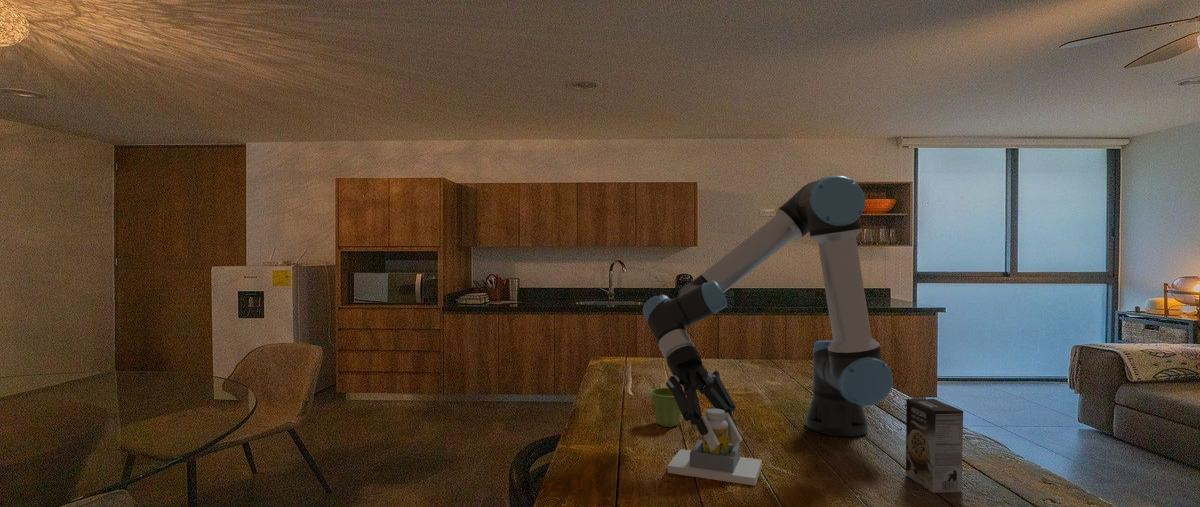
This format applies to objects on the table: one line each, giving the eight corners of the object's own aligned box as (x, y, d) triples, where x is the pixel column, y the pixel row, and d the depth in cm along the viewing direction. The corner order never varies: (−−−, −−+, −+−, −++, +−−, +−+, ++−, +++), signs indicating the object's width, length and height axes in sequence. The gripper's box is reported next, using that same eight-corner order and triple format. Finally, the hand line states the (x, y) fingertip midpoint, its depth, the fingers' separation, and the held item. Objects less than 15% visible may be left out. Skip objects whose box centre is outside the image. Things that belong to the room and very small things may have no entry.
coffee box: (904, 475, 123) (904, 398, 123) (933, 474, 124) (934, 397, 124) (932, 493, 114) (932, 410, 114) (963, 492, 115) (964, 409, 115)
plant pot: (684, 419, 163) (684, 388, 163) (686, 429, 154) (686, 396, 154) (650, 418, 164) (650, 387, 164) (650, 428, 155) (650, 395, 155)
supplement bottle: (729, 452, 128) (729, 408, 128) (727, 461, 123) (727, 415, 123) (704, 450, 130) (704, 406, 129) (701, 458, 124) (701, 413, 124)
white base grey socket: (761, 466, 128) (761, 445, 128) (755, 485, 118) (755, 463, 118) (680, 455, 135) (680, 435, 135) (667, 472, 124) (667, 451, 124)
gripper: (704, 359, 144) (751, 447, 130) (640, 366, 135) (683, 461, 121) (718, 341, 139) (769, 429, 125) (653, 347, 130) (699, 443, 116)
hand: (726, 445), depth 123 cm, fingers closed on supplement bottle, 5 cm apart
